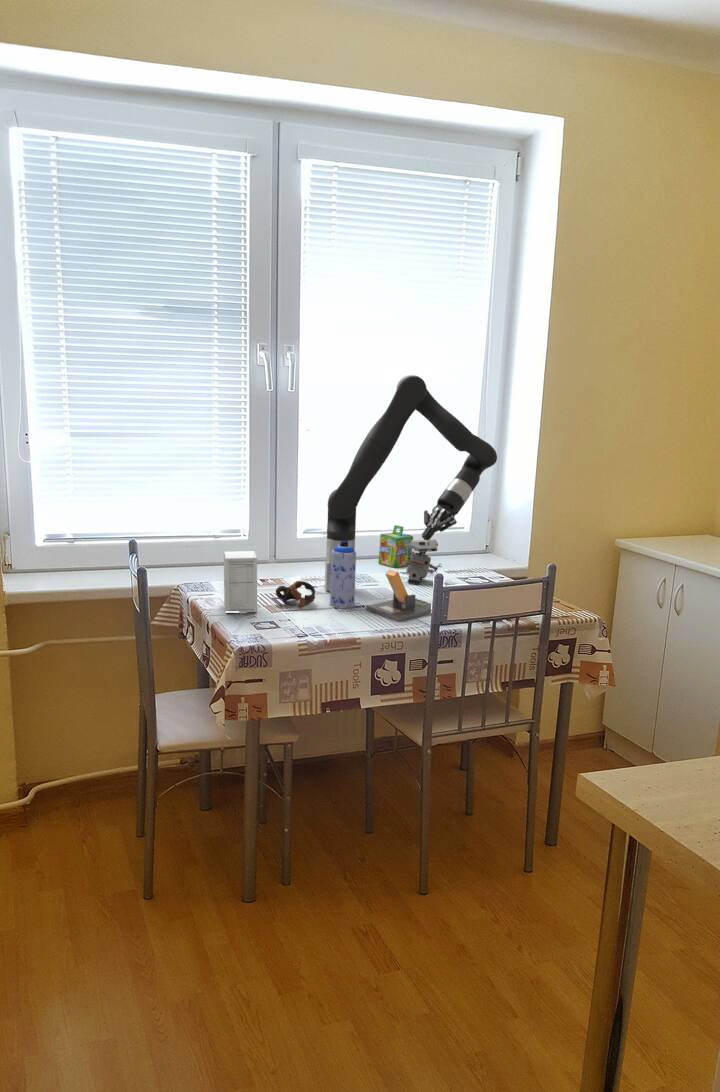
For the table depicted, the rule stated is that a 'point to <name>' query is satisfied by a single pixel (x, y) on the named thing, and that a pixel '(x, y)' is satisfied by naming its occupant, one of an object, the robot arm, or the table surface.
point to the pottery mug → (296, 593)
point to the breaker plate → (401, 608)
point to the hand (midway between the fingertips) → (424, 538)
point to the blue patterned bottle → (343, 576)
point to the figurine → (420, 560)
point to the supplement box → (240, 581)
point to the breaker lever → (397, 586)
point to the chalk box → (394, 548)
